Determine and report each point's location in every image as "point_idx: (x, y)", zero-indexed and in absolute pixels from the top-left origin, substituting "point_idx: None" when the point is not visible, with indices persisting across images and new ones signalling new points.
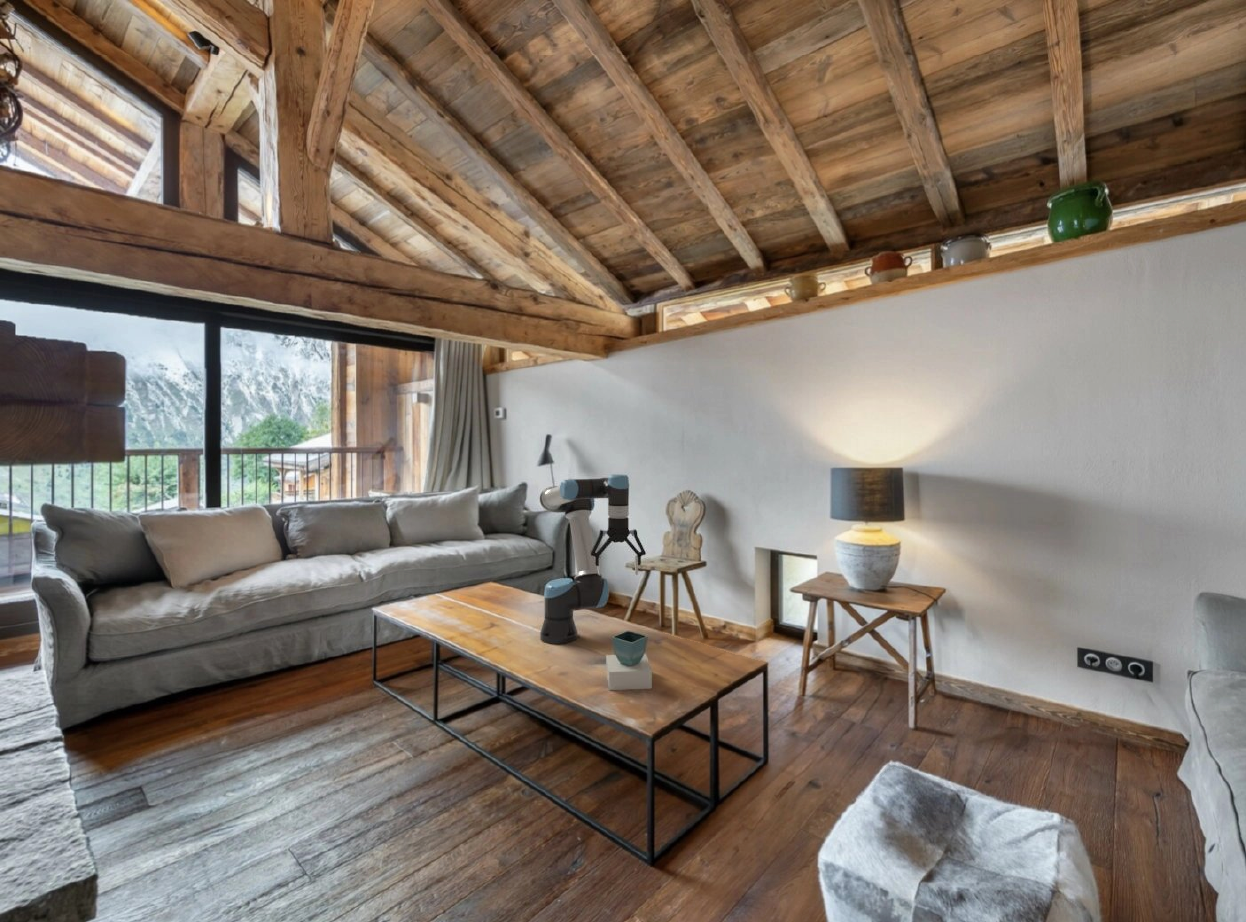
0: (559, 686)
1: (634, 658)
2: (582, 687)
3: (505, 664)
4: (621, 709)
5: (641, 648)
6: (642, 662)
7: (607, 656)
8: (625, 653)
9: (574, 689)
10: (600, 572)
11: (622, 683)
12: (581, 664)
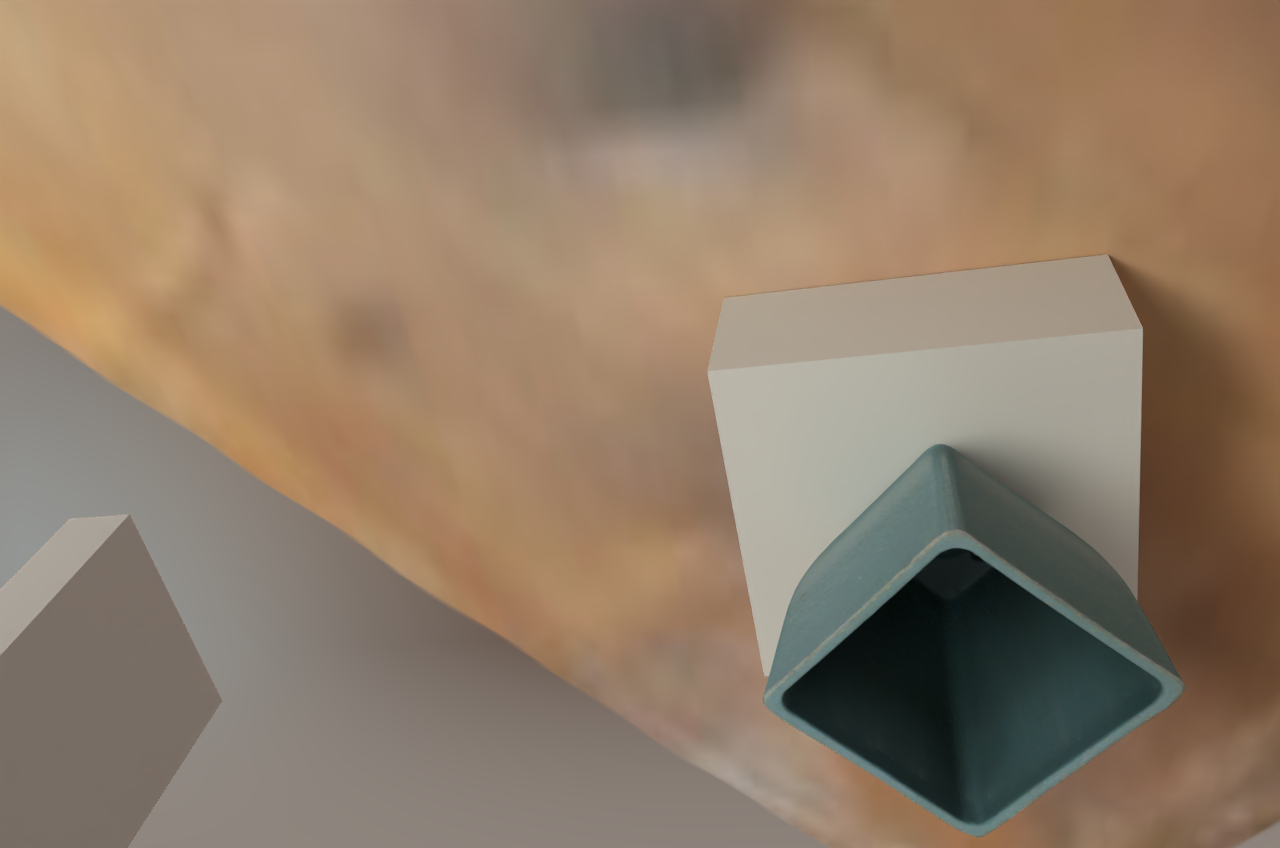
0: (412, 527)
1: (990, 662)
2: (575, 541)
3: None
4: (864, 783)
5: (1080, 664)
6: (1071, 521)
7: (722, 402)
8: (904, 693)
9: (527, 566)
10: (165, 769)
11: None
12: (471, 144)
